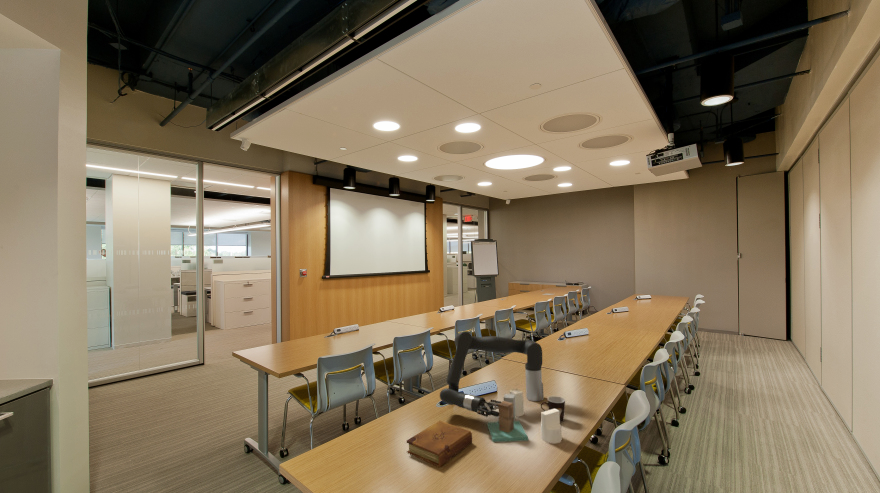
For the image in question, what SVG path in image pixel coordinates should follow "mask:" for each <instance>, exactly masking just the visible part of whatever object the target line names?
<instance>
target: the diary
mask: <svg viewBox="0 0 880 493" xmlns="http://www.w3.org/2000/svg"><path fill="white" fill-rule="evenodd" d="M472 443H473V433H472V432H471V430H469V429H465V428H463V427H459V426H457V425H453V424H450V423H447V422H444V421H442V420H439V421H437V422H435V423H434V424H432V425H430V426H429V427H427V428H425V429H424V430H421V431H420V432H418V433H417V434H415V435H413V436H412V437H410V438H408V439H407V440H406V444H408V450H407V451H406V453H407V452H408V453H407V454H409V453H410V454H409V455H411V454H412V456H413V455H414V457H416V458H418V459H420V458H421V459H420V460H422V459H423V460H422V461H425V462H427V463H429V464H431V465H434V466H436V467H439V468H441V467H442V466H443V465H444V464H446V463H447V462H449V461H450V460H451V459H452V458H453V457H455V456H456V455H458V454H459V453H460V452H462V451H463V450H464V449H465V448H467V447H468V446H469V445H471V444H472ZM457 453H458V454H457Z"/></svg>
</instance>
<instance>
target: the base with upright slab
mask: <svg viewBox="0 0 880 493" xmlns="http://www.w3.org/2000/svg"><path fill="white" fill-rule="evenodd" d="M540 419H541V421H540V438H541V440H542V441H544V442H545V443H548V444H560V443H561V442H562V441H563V439H562V425H561V422H560V414H559V410H557V409H555V408H554V409H551V410H549V409H548V410H545V411H544V410H543V411H541V412H540ZM561 440H562V441H561Z"/></svg>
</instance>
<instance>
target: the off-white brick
mask: <svg viewBox="0 0 880 493" xmlns="http://www.w3.org/2000/svg"><path fill="white" fill-rule="evenodd" d="M509 394H512V395H515V418H518V417H522V416H524V414H525V412H524V409H525V407H524V392H523V391H522V390H520V389H518V388H514V389H511V390H509Z"/></svg>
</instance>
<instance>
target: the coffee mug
mask: <svg viewBox="0 0 880 493" xmlns="http://www.w3.org/2000/svg"><path fill="white" fill-rule="evenodd" d="M544 404H546V405H547V406H548V410H551V409H554V408H555V409H557V410H559V414H560V423H562V422H564V418H565V408H566V407H565V406H566V398H564V397H561V396H556V395H555V396H547V402H546V401H543V402H542V403H541V404H540V408H541V409H542V411H543V412H544V411H546V410H545V409H544V408H543V405H544Z"/></svg>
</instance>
